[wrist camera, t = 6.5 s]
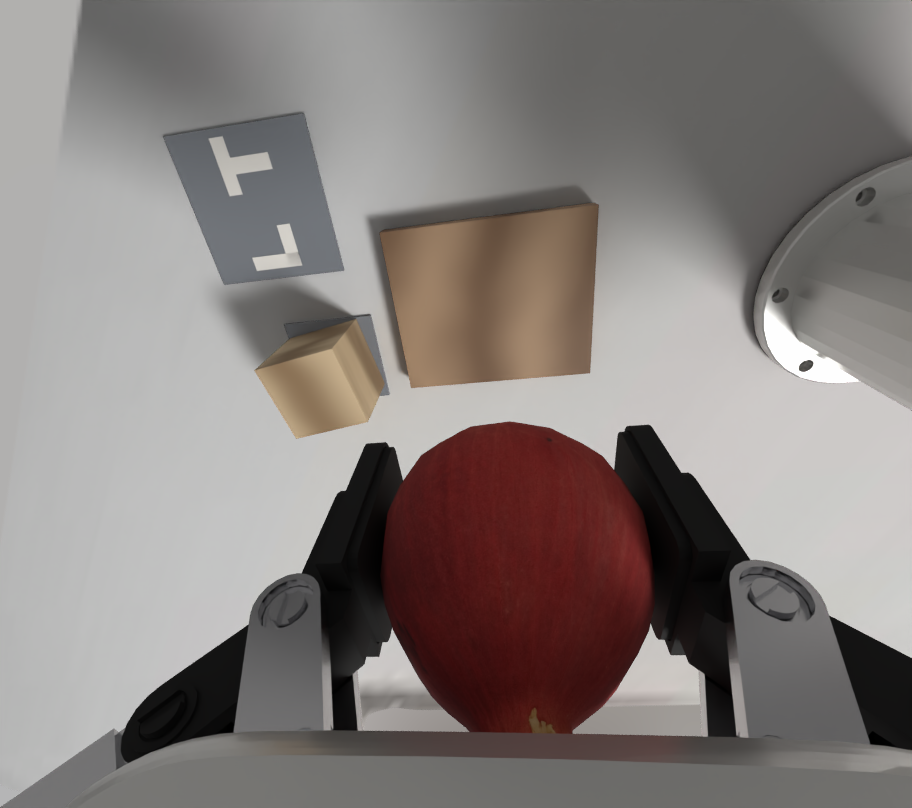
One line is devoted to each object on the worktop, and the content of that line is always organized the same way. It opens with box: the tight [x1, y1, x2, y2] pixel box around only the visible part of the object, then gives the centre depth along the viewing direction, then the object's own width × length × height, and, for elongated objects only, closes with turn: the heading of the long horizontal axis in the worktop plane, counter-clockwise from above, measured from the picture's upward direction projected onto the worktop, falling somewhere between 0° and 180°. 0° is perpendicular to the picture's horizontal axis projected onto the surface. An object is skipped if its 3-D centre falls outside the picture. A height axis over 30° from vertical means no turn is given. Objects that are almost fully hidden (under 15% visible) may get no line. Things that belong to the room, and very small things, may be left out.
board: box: [380, 203, 599, 388], centre depth 25 cm, size 12×10×1 cm
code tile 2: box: [284, 315, 390, 396], centre depth 28 cm, size 6×6×1 cm
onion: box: [380, 422, 655, 734], centre depth 9 cm, size 6×6×8 cm
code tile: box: [164, 113, 344, 285], centre depth 23 cm, size 8×8×1 cm
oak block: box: [254, 319, 385, 439], centre depth 26 cm, size 5×5×5 cm
